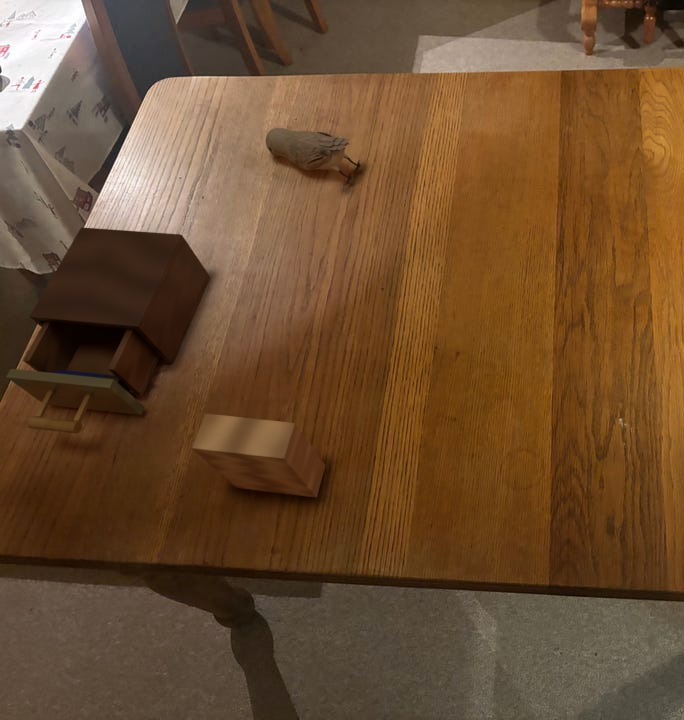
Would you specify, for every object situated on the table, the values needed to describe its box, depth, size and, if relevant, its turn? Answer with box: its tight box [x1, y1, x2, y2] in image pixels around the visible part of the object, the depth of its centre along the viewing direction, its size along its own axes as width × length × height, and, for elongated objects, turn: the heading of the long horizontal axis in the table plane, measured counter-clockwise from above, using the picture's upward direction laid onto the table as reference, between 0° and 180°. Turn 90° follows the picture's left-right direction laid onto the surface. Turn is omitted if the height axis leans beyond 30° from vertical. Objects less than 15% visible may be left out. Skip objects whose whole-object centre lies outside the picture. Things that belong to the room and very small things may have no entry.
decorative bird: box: [265, 127, 362, 185], centre depth 101 cm, size 5×16×8 cm, turn 66°
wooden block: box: [191, 413, 326, 498], centre depth 73 cm, size 10×4×12 cm, turn 82°
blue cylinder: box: [54, 370, 129, 392], centre depth 83 cm, size 9×3×3 cm
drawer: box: [6, 321, 160, 434], centre depth 83 cm, size 18×13×7 cm
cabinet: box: [28, 227, 211, 365], centre depth 88 cm, size 15×15×9 cm
